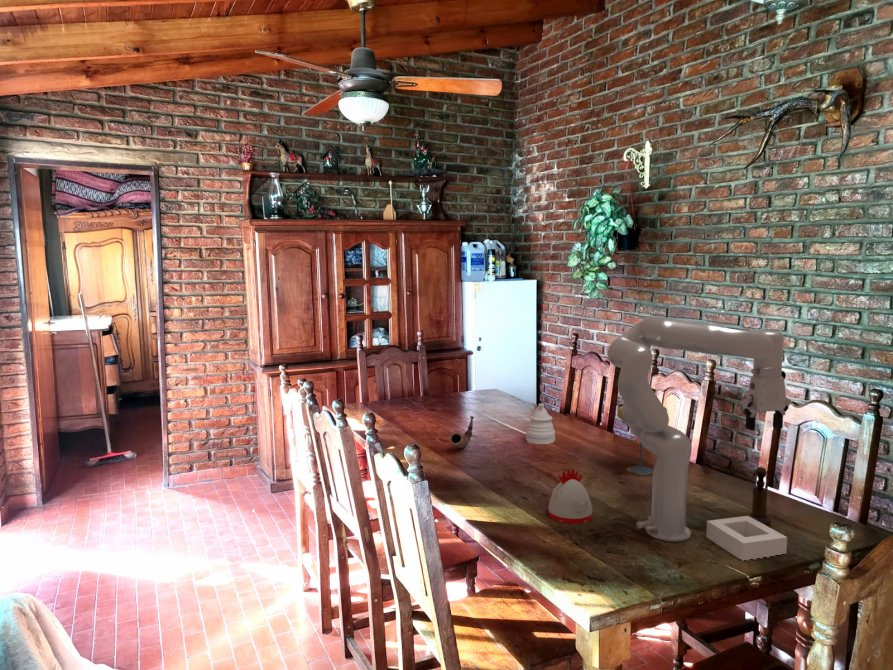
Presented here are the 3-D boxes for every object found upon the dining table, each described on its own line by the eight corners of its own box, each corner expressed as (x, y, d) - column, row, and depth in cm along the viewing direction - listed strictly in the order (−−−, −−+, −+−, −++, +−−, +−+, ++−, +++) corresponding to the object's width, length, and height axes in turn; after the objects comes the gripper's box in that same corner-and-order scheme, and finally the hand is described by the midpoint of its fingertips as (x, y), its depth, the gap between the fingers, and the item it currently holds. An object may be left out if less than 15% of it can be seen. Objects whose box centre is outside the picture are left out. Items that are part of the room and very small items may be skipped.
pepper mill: (749, 518, 193) (752, 462, 191) (772, 523, 189) (775, 466, 187) (744, 525, 188) (747, 468, 186) (767, 531, 184) (770, 472, 182)
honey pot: (557, 446, 270) (557, 406, 268) (527, 446, 270) (528, 406, 268) (552, 438, 283) (553, 400, 281) (524, 438, 283) (524, 400, 281)
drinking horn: (448, 454, 260) (448, 431, 259) (466, 436, 288) (466, 415, 287) (461, 455, 259) (461, 432, 258) (478, 437, 287) (478, 415, 285)
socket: (742, 561, 166) (743, 543, 165) (706, 537, 180) (706, 520, 180) (786, 554, 169) (787, 537, 169) (747, 531, 184) (748, 515, 183)
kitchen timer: (540, 510, 201) (540, 465, 199) (576, 503, 206) (576, 460, 205) (563, 526, 188) (564, 479, 187) (601, 519, 193) (602, 473, 192)
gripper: (751, 375, 178) (748, 433, 180) (801, 373, 182) (797, 429, 184) (733, 371, 185) (730, 427, 187) (781, 368, 189) (778, 423, 191)
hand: (763, 428), depth 185 cm, fingers open, 9 cm apart
